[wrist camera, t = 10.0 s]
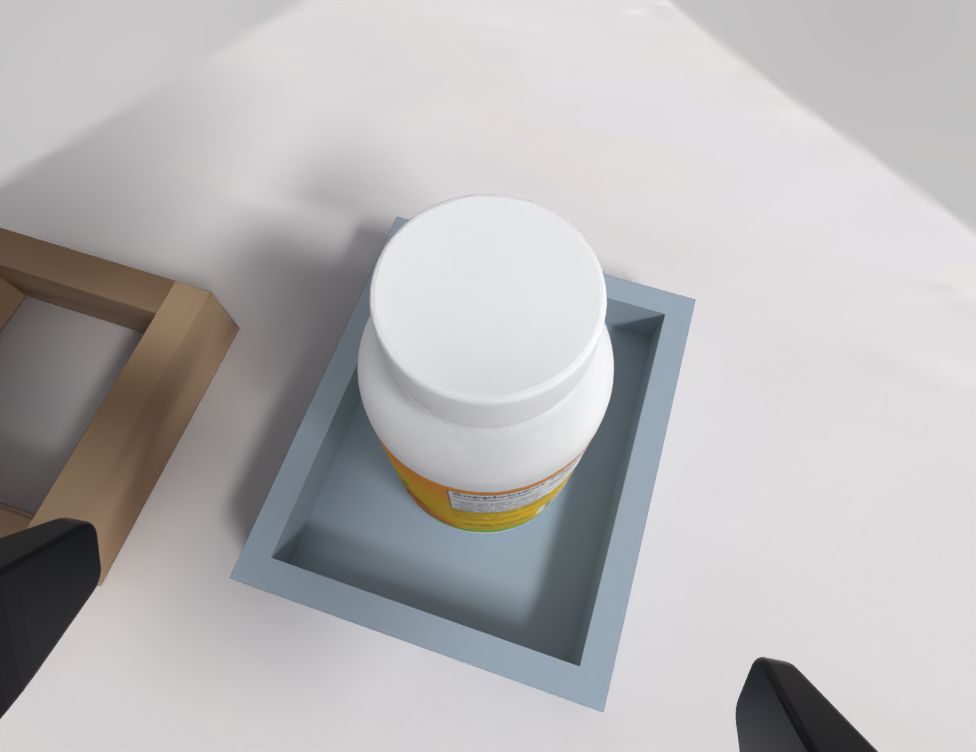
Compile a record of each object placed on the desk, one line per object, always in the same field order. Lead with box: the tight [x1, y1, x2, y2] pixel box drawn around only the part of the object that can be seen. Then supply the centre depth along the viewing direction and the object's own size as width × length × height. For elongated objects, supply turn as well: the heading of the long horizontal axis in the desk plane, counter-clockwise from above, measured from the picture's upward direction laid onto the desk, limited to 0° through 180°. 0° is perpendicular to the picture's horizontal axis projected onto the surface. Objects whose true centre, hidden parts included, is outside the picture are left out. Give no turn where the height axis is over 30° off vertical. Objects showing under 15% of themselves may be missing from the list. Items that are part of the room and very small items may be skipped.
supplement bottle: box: [357, 194, 614, 534], centre depth 15 cm, size 5×5×10 cm
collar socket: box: [0, 228, 239, 586], centre depth 19 cm, size 9×9×2 cm
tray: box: [230, 217, 695, 712], centre depth 19 cm, size 12×10×2 cm
